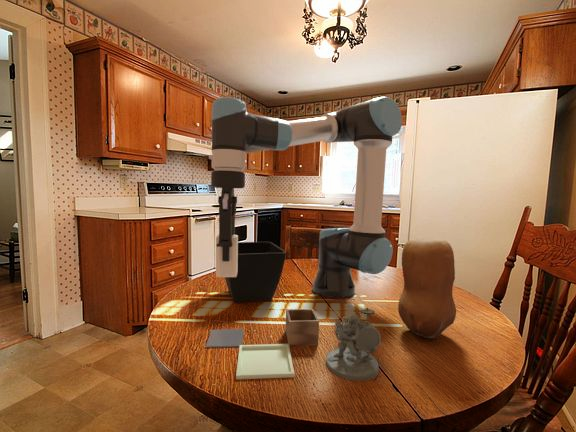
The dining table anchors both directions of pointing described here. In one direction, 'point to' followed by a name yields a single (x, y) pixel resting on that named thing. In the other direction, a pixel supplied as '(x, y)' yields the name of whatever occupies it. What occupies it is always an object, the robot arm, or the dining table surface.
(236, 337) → the slate coaster
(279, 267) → the flower pot
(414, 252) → the butternut squash
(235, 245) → the cream square pillar
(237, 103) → the robot arm
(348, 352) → the figurine
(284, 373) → the green tray
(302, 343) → the walnut open box
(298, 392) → the dining table surface
